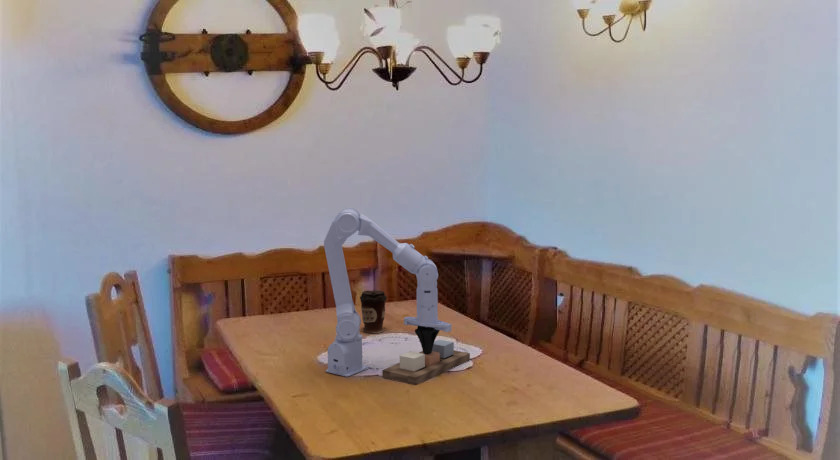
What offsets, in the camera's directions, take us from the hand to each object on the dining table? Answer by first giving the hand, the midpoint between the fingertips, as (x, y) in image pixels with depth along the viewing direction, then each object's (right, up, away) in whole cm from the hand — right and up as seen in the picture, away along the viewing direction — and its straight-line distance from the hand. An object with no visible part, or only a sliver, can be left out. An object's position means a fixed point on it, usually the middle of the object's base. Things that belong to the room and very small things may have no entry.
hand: (427, 353), depth 219 cm
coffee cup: (-17, +1, +40) cm, 43 cm away
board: (0, -4, +1) cm, 4 cm away
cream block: (-4, -3, -5) cm, 7 cm away
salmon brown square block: (0, -3, 0) cm, 3 cm away
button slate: (+4, -1, +6) cm, 7 cm away
